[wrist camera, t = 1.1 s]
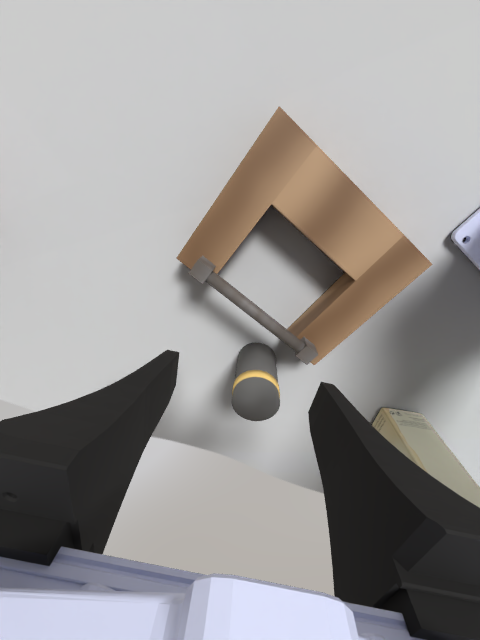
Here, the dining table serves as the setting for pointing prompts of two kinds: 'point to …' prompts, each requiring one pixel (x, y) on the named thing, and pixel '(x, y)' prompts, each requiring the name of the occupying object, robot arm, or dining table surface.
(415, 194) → the dining table surface
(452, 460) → the skincare box
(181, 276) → the dining table surface
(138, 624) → the robot arm
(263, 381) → the grey cylinder with band
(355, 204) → the wooden bracket with rod
